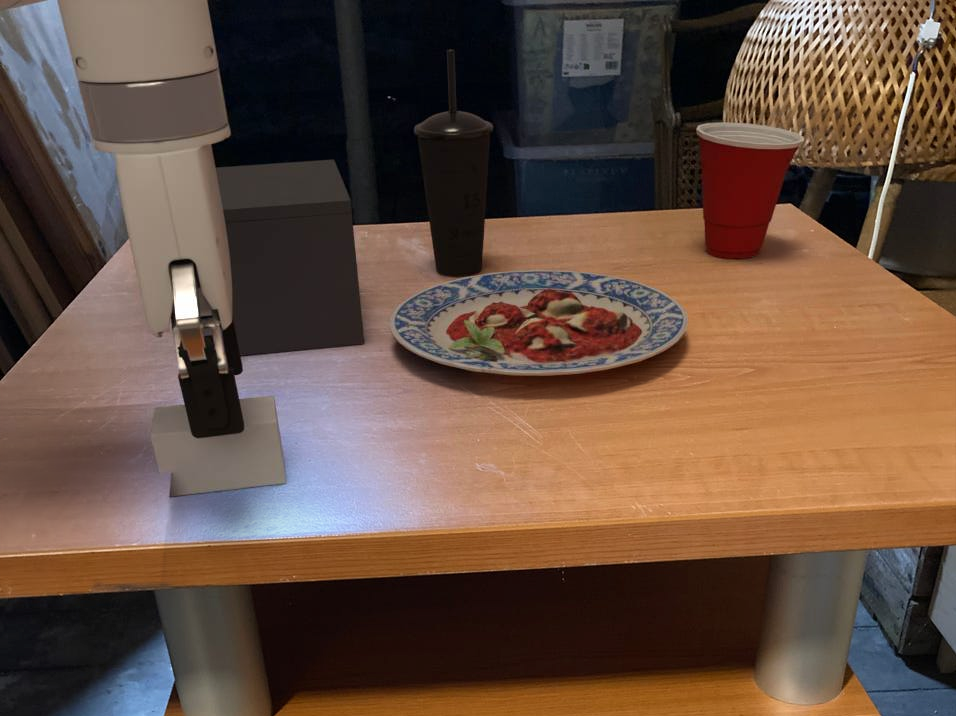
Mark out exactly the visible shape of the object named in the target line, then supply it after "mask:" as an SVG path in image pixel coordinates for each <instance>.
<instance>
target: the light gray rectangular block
mask: <svg viewBox="0 0 956 716" xmlns="http://www.w3.org/2000/svg"><path fill="white" fill-rule="evenodd" d="M239 400H240V405H241V410H242V415H243V420H244V431H243V432H241V433H238V434H230V435H222V436H214V437H206V438H195V437H193V435H192V434H191V430H190V425H189V421H188V417H187V413H186V408H185V404H178V405H168V406H158V407H154V409H153V415H152V423H151V430H150V440H151V444H152V448H153V452H154V456H155V461H156V464H157V469H158V471H159V472H158V473H159V474H165V473H170V482H169V483H170V484H169V493H168V497H178V496H188V495H196V494H205V493H214V492H222V491H229V490H230V491H231V490H239V489H249V488H256V487H265V486H273V485H274V486H275V485H283V484H287V476H286V466H285V457H284V456H285V455H284V450H283V443H282V436H281V431H280V424H279V423H280V422H279V417H278V412H277V405H276V404H277V403H276V399H275V396H274V395H265V396H254V397H244V398H239Z"/></svg>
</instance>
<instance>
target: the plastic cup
mask: <svg viewBox="0 0 956 716" xmlns="http://www.w3.org/2000/svg"><path fill="white" fill-rule="evenodd" d="M695 131H696V135H697V136H698V143H699V152H700V165H701V187H702V188H701V194H702V219H703V221H704V222H703V223H704V245H705V248H706V250H705V251H706V252H707V253H708V254H709V255H712V256H714V255H715V256H714V257H716V256H718V257H717V258H722V257H725V258H724V259H732V258H741V259H749V257H750V258H753V257H752V256H754V257H756V256H758V255H759V254H760V252H761V249H762V248H763V246H764V243H765V239H766V236H767V232H768V228H769V225H770V223H771V222H772V218H773V216H774V212H775V209H776V206H777V203H778V200H779V197H780V193H781V191H782V187H783V184H784V181H785V179H786V174H787V171H788V170H789V168H790V165H791V162H792V160H794V157H795V154H796V153H797V151H798V149H799V148H800V146H801V147H802V145H803V144H804V142H805V137H804V136H803V135H801V134H799V133H797V132H794V131H790V130H788V129H784V128H781V127H780V128H779V127H774V126H769V125H764V124H756V123H755V124H754V123H745V122H723V121H721V122H707V123H703V124H699V125H697V127H696V129H695Z"/></svg>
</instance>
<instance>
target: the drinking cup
mask: <svg viewBox="0 0 956 716" xmlns="http://www.w3.org/2000/svg"><path fill="white" fill-rule="evenodd" d="M446 57H447V58H446V59H447V60H446V61H447V62H446V63H447V83H448V109H449V110H448V111H443V112H439V113H436V114H433V115H431V116H429V117H428V118H426V119H425V120H423V121H422V122H420V123H418V124H416V125H414V128H413V133H414V135H415V136H417V141H418V149H419V157H420V165H421V171H422V178H423V185H424V192H425V199H426V207H427V213H428V222H429V228H430V235H431V236H430V237H431V242H432V250H433V251H432V252H433V257H434V265H435V271H436V272H437V273H438V274H440V275H441V276H442V275H443V276H446V277H470V276H474V275H477V274H478V273H480V272H482V270H483V255H484V241H485V226H486V210H487V209H486V208H487V207H486V206H487V190H488V174H489V160H490V159H489V158H490V144H491V143H490V141H491V134H492V133H493V131H494V126H493V123H492V122H489V121H487V120H485V119H483V118H481V117H480V116H478V115H476V114H473V113H471V112H467V111H461V110H457V92H456V91H457V89H456V61H455V49H447V50H446Z"/></svg>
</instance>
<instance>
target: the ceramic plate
mask: <svg viewBox="0 0 956 716" xmlns="http://www.w3.org/2000/svg"><path fill="white" fill-rule="evenodd" d="M688 326H689V315H688V313H687V311H686V309H685V308H684V307H683V305H682V304H681V303H680V301H678V300H676V299H675V298H673V297H672V296H670V295H669V294H667V293H665V292H663V291H662V290H660V289H658V288H656V287H652V286H651V285H648V284H645V283H642V282H638V281H636V280H630V279H627V278H623V277H619V276H614V275H608V274H606V275H605V274H601V273H594V272H589V271H576V270H560V269H559V270H558V269H557V270H556V269H531V270H530V269H529V270H528V269H525V270H509V271H500V272H499V271H498V272H489V273H482V274H476V275H469V276H463V277H459V278H457V279H453V280H449V281H447V282H446V281H445V282H442V283H438V284H435V285H432V286H430V287H428V288H427V287H426V288H425V289H422V290H420V291H418V292H416V293H414V294H413V295H411V296H409V297H407V298H406V299H405V300H403V301H402V302H400V303H399V304H398V305H397V307H396V308H395V309H394V310H393V311H392V313H391V316H390V317H389V328H390V332H391V334H392V336H393V337H394V339H395V341H396V342H398V343H399V344H400V345H401V346H403V348H405V349H407V350H408V351H410V352H412V353H414V354H416V355H417V356H419V357H421V358H424V359H427V360H430V361H433V362H435V363H438V364H440V365H445V366H448V367H453V368H457V369H461V370H466V371H470V372H475V373H477V372H478V373H487V374H496V375H506V376H523V377H525V376H529V377H530V376H531V377H533V376H534V377H548V376H549V377H550V376H551V377H552V376H563V375H565V376H566V375H579V374H586V373H593V372H600V371H601V372H602V371H606V370H611V369H616V368H619V367H624V366H627V365H632V364H635V363H640V362H642V361H645V360H648V359H649V358H652V357H654V356H656V355H658V354H661V353H663V352H666V351H667V350H668V349H670V348H671V347H672V346H674V345H675V344H677V343H678V342H679V341H680V340H681V339H682V338H683V337H684V335H685V333H686V332H687V329H688Z"/></svg>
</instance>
